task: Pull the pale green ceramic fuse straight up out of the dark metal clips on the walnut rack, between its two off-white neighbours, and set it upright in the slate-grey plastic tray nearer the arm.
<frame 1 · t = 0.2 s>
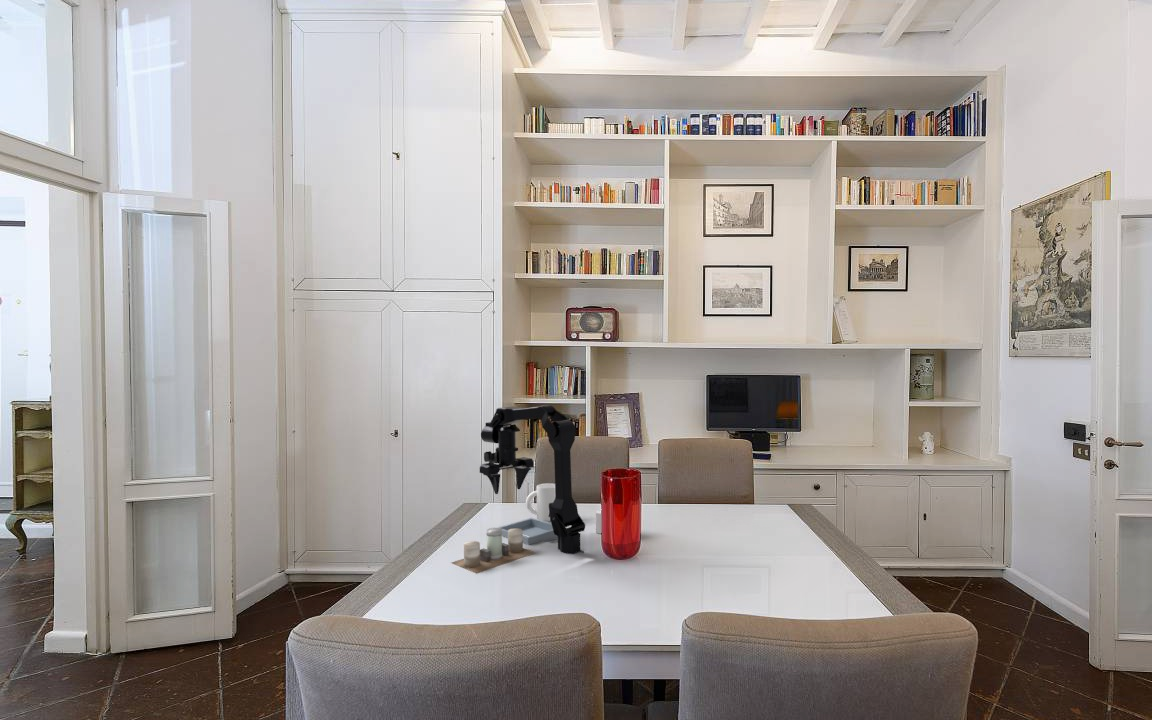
hand: (507, 491, 191), 14 cm above the table, fingers open, 9 cm apart
tray: (529, 536, 189), on the table
fuse rack: (494, 560, 167), on the table
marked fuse: (494, 557, 167), point 1 cm above the table, touching fuse rack
mug: (542, 519, 210), on the table
medicine bottle: (610, 532, 193), on the table
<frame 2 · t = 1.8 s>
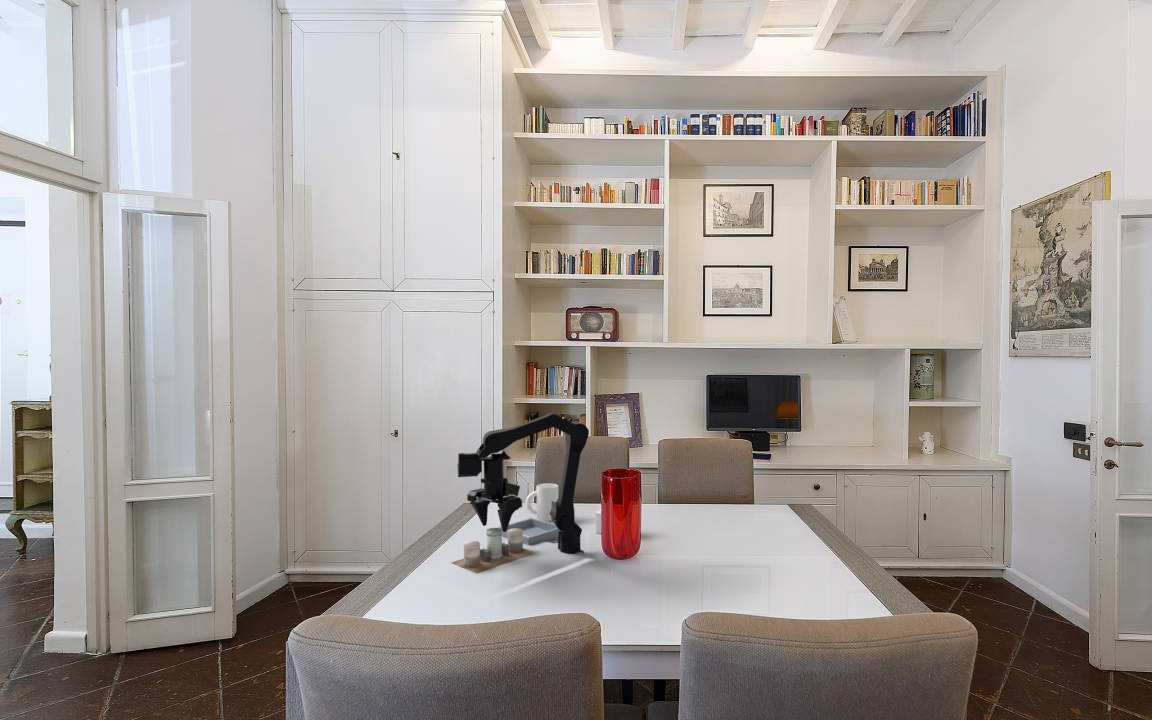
hand: (494, 528, 167), 9 cm above the table, fingers open, 9 cm apart
nothing on the table moved.
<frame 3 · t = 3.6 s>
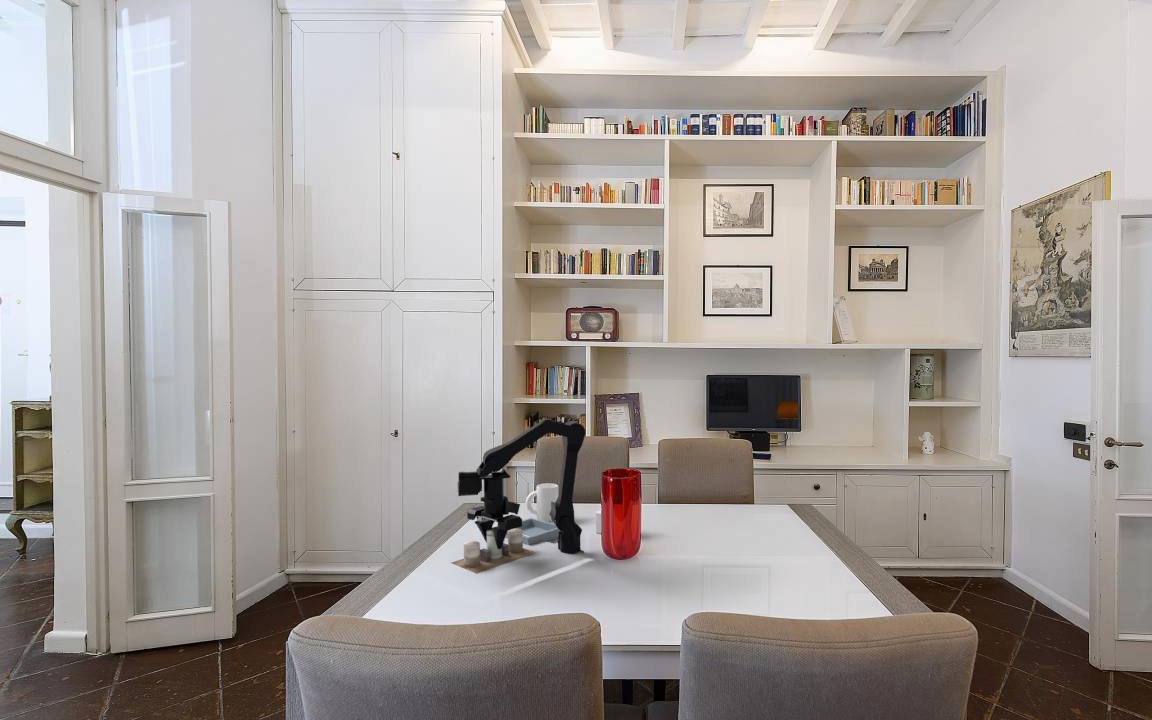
hand: (494, 547, 167), 4 cm above the table, fingers closed on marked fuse, 4 cm apart
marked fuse: (494, 557, 167), point 1 cm above the table, touching fuse rack, gripper
everything else where it was.
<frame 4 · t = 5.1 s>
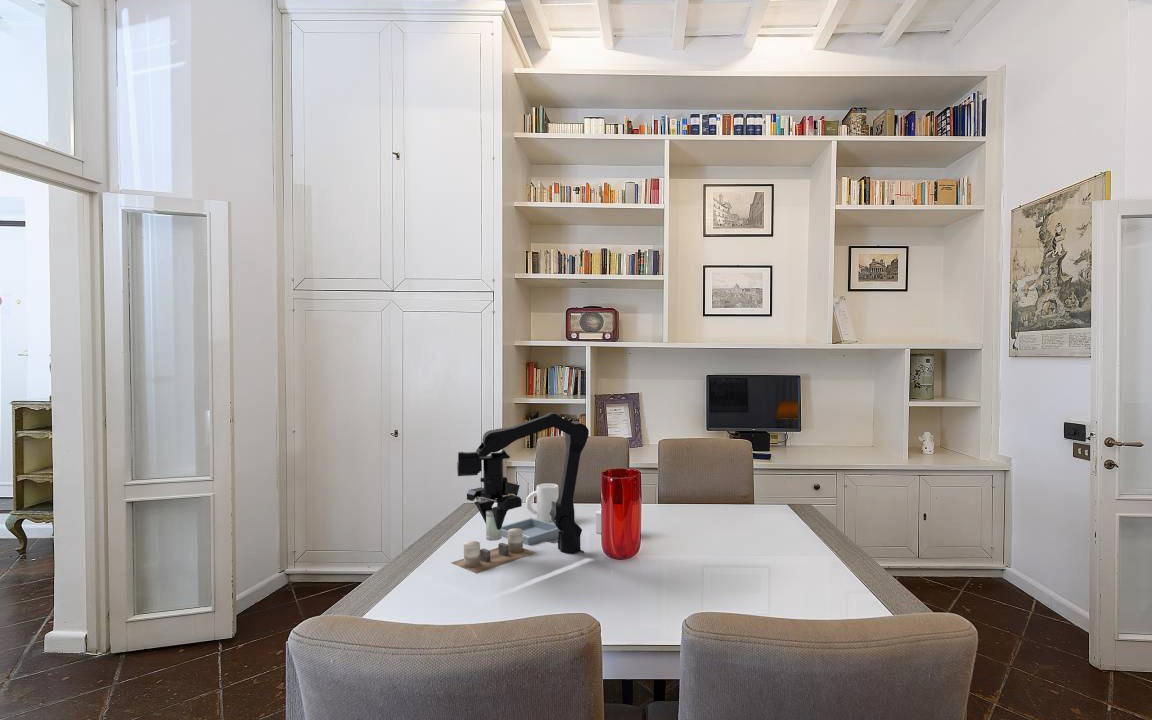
hand: (493, 527, 167), 10 cm above the table, fingers closed on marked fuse, 4 cm apart
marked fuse: (494, 538, 167), point 7 cm above the table, touching gripper
everything else where it was.
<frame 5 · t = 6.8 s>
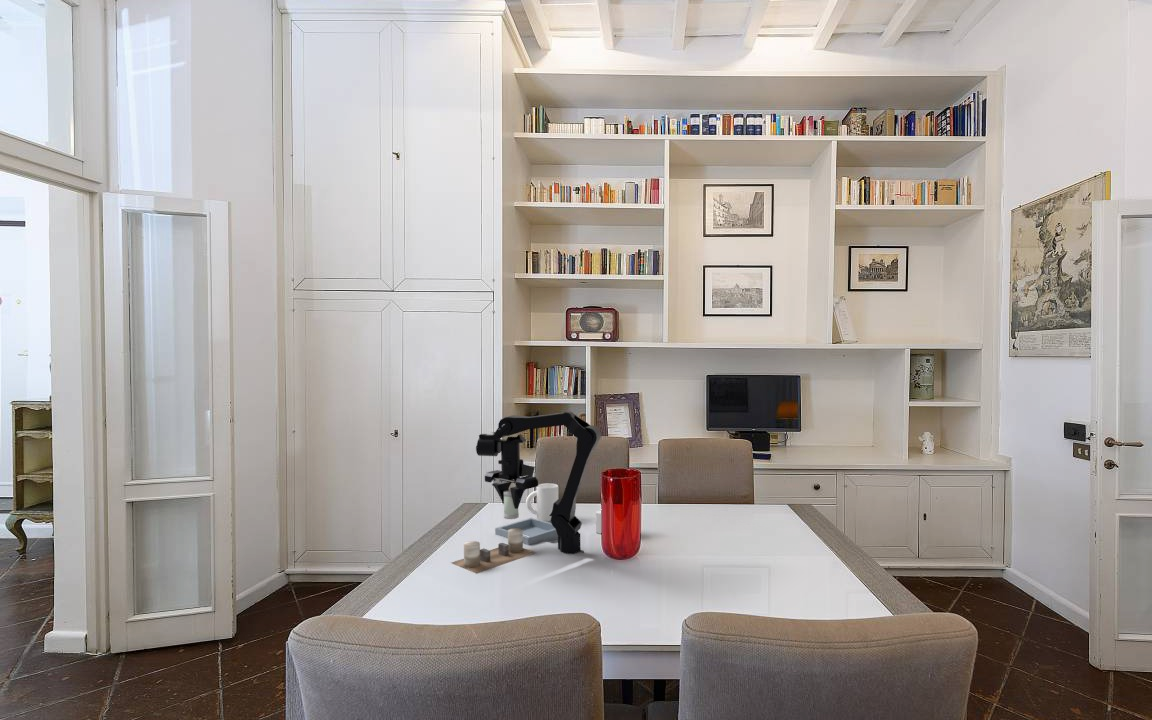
hand: (511, 507, 177), 13 cm above the table, fingers closed on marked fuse, 4 cm apart
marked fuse: (511, 517, 177), point 10 cm above the table, touching gripper
everything else where it was.
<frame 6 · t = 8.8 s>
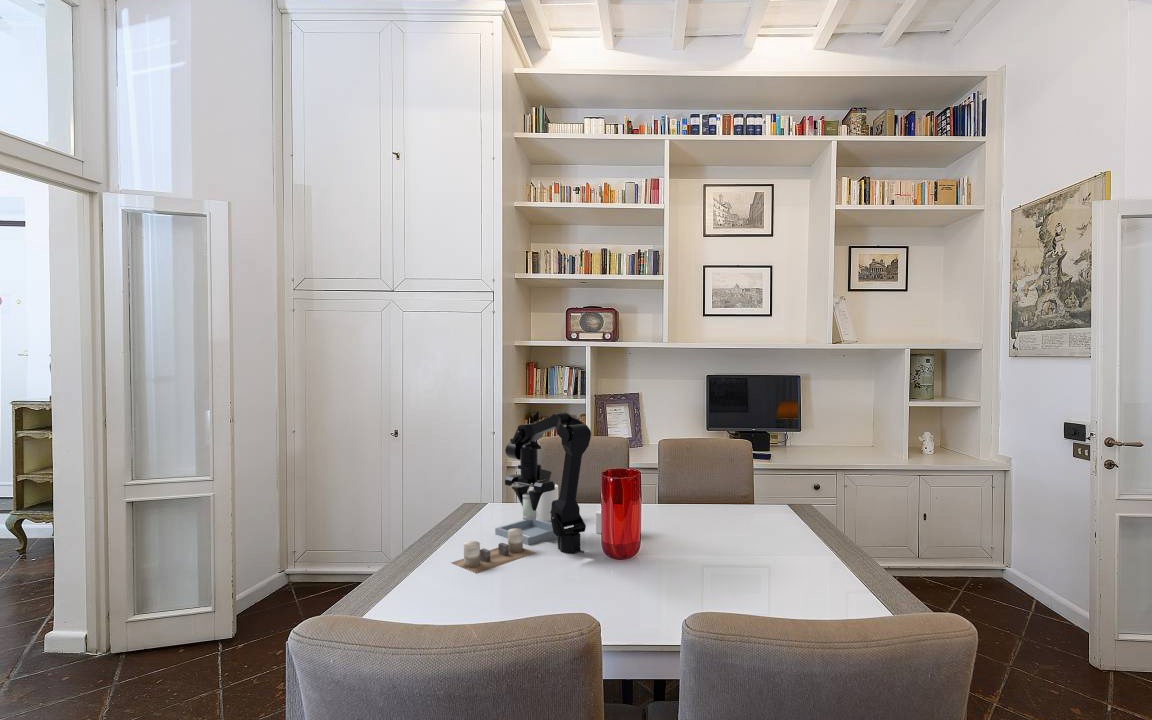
hand: (529, 509, 189), 9 cm above the table, fingers closed on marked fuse, 4 cm apart
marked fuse: (529, 518, 189), point 6 cm above the table, touching gripper
everything else where it was.
when the fingers open (5 cm above the table, at t = 10.4 s): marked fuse drops 1 cm, resting on tray.
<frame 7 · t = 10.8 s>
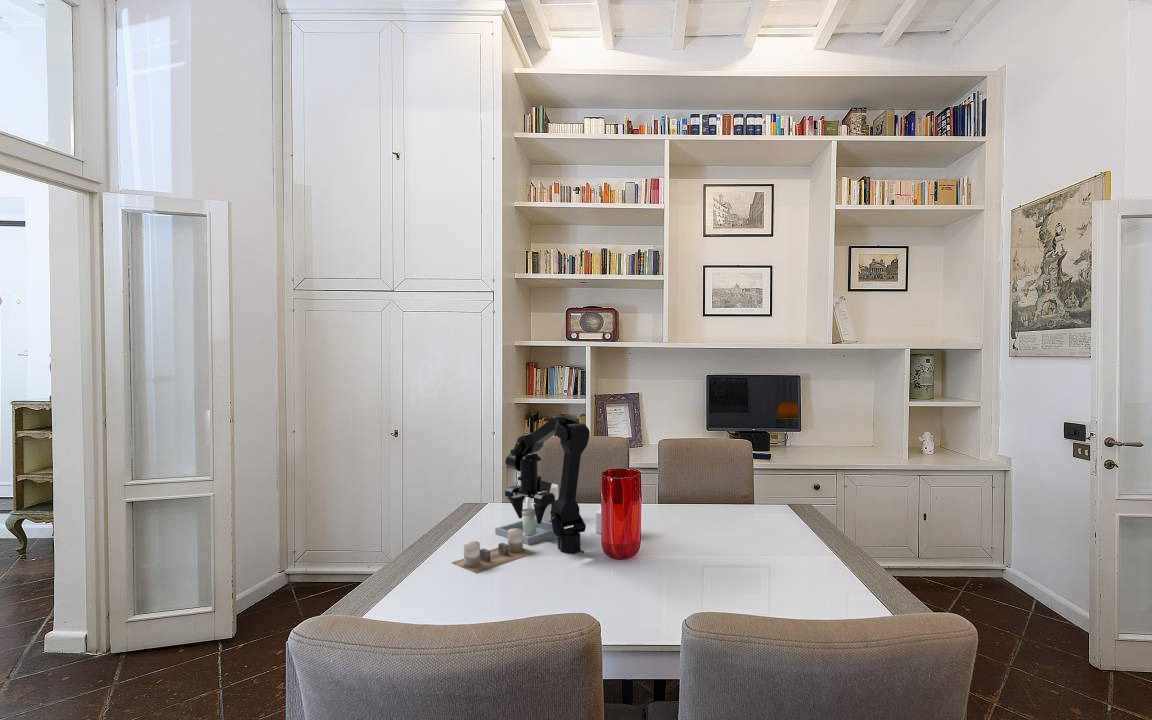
hand: (529, 520, 189), 5 cm above the table, fingers open, 9 cm apart
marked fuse: (529, 534, 189), point 1 cm above the table, touching tray
everything else where it was.
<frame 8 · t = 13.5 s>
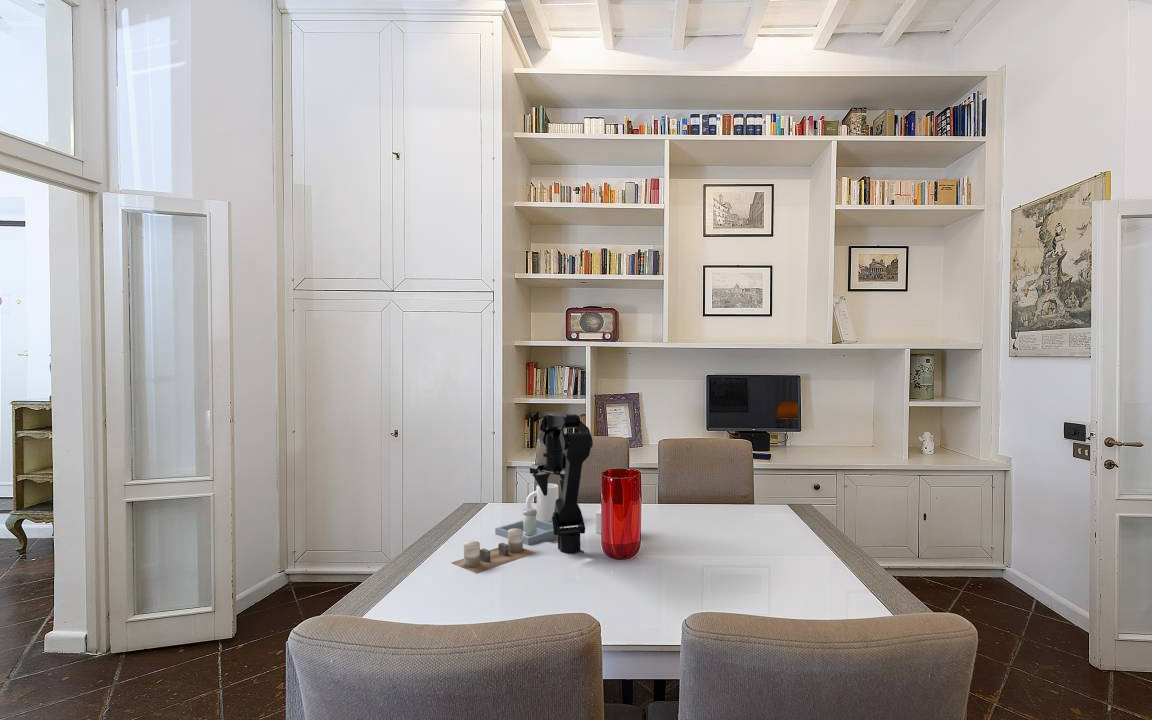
hand: (555, 497, 188), 13 cm above the table, fingers open, 9 cm apart
nothing on the table moved.
at the end: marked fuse inside the target area on the tray (0.1 cm from its centre), point 0.6 cm above the tray's base; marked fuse tilted 1°; the gripper is holding nothing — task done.
